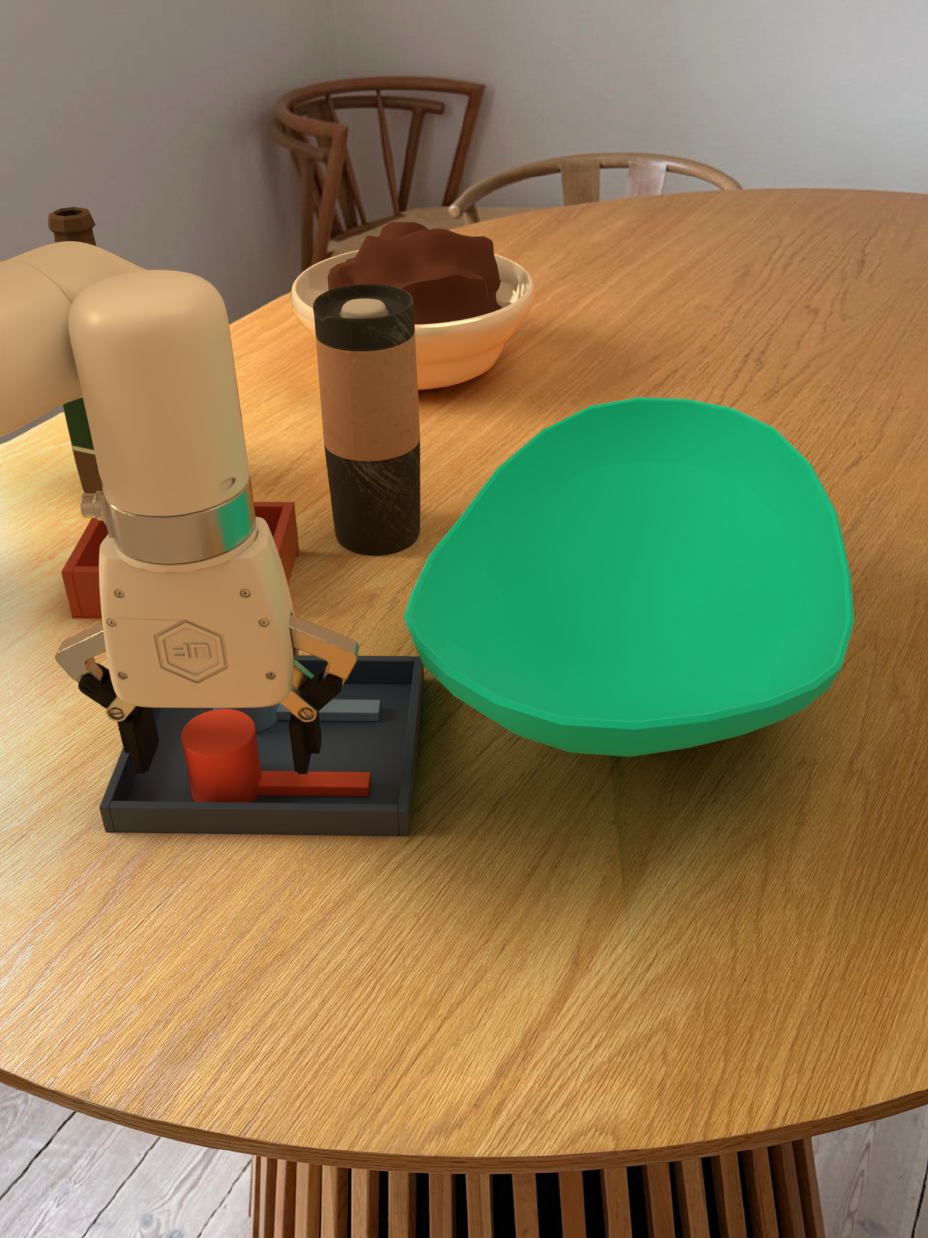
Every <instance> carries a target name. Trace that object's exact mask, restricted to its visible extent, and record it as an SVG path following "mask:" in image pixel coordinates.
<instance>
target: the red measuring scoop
mask: <svg viewBox="0 0 928 1238" xmlns="http://www.w3.org/2000/svg"><path fill="white" fill-rule="evenodd" d="M181 740H182V746H183V751H184V756H185V761H186V766H187V772H188V777H189V782H190V787H191V793H192V797H193V799H194V801H195V802H240V803H251V802H252V801H254V800H255V799H256V798H257V797H258V795H293V796H369V793H370V786H371V773H370V772H309V771H308V773H307V774H298V772H295V771H261V764H260V757H259V750H258V743H257V736H256V729H255V724H254V722H253V720H252V719H251V718H250V717H249V716H248V715H246V714H245V713H243V712H240V711H237V710H232V709H218V710H212V711H208V712H205V713H202V714H200V715H198V716H196V717H195V718H193V719H192V720H190V721H189V722H188V723H187V724H186V726H185V727H184V729H183V731H182V734H181Z"/></svg>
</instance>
